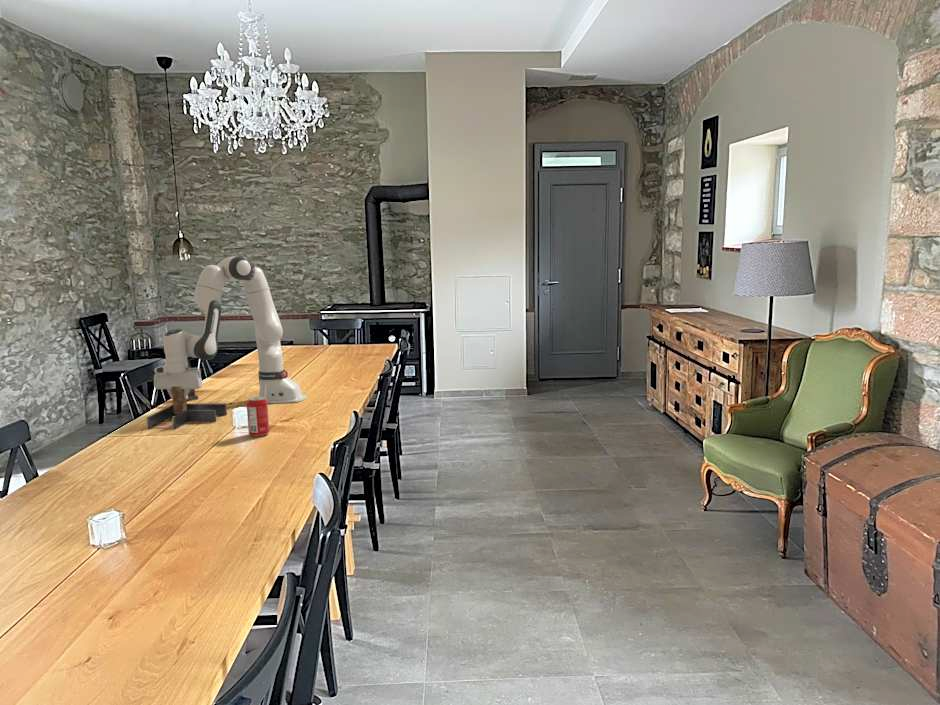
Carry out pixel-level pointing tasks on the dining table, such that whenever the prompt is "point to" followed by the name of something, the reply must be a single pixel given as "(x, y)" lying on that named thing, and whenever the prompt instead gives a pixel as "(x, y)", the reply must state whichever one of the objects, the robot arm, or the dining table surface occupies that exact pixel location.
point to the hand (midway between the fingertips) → (179, 399)
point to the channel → (187, 414)
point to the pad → (165, 425)
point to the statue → (192, 391)
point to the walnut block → (179, 400)
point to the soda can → (257, 416)
